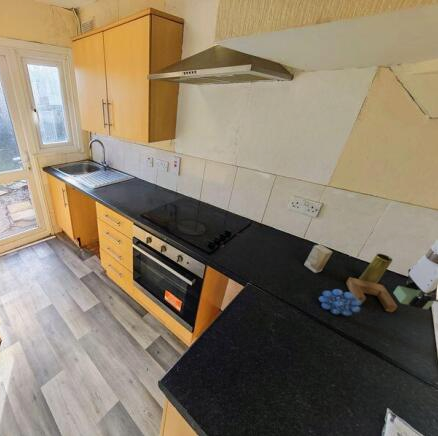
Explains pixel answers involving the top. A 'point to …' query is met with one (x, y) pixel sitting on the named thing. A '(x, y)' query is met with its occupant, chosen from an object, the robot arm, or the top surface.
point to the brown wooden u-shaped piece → (371, 292)
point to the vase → (376, 268)
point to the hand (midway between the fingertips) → (410, 299)
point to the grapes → (340, 302)
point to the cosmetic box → (318, 258)
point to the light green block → (409, 296)
